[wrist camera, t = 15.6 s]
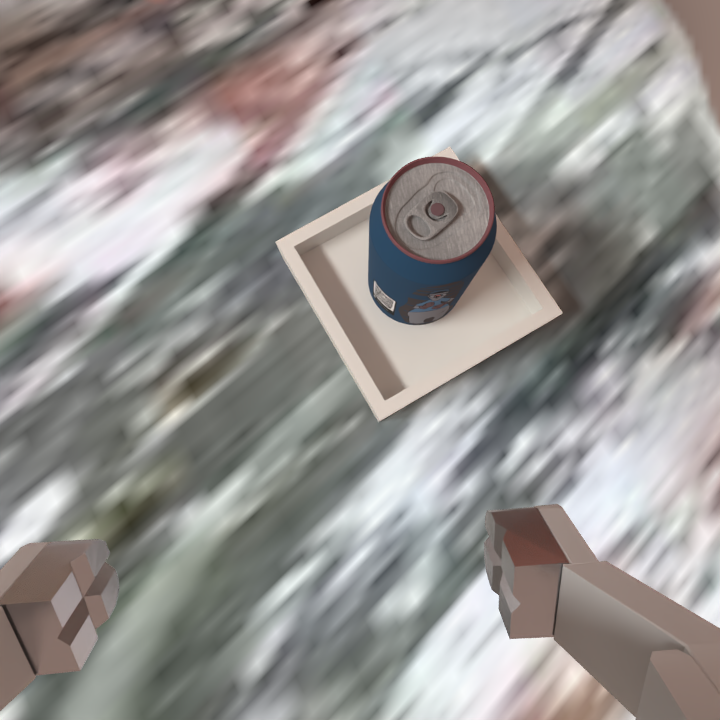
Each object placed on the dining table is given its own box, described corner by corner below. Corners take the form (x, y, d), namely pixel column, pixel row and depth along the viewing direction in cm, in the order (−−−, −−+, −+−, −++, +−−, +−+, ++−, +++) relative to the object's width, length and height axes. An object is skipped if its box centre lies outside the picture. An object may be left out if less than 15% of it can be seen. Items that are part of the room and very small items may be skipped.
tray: (282, 257, 36) (275, 241, 34) (443, 169, 38) (450, 146, 35) (378, 422, 34) (379, 420, 31) (546, 323, 35) (563, 313, 32)
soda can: (415, 224, 36) (439, 119, 24) (478, 287, 35) (536, 211, 23) (349, 282, 35) (340, 204, 23) (411, 348, 34) (436, 301, 22)
